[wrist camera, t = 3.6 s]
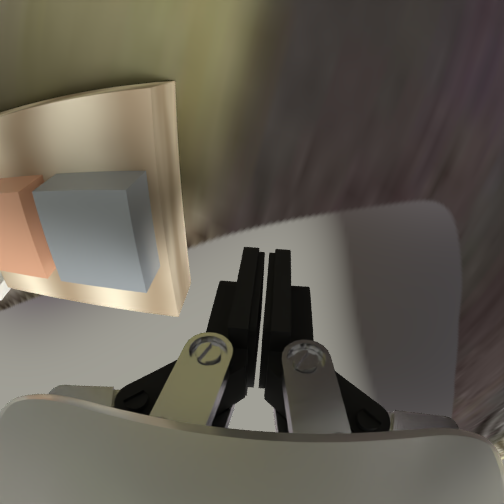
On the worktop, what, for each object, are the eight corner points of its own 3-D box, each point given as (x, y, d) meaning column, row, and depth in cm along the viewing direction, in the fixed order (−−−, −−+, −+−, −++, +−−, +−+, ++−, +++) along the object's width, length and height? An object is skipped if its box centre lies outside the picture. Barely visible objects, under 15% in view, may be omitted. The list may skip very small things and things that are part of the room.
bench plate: (175, 80, 13) (150, 87, 11) (191, 282, 20) (178, 316, 18) (-13, 116, 14) (-44, 131, 12) (28, 263, 21) (7, 287, 18)
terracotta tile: (42, 174, 13) (17, 192, 11) (65, 256, 16) (47, 278, 14) (-13, 179, 13) (-35, 195, 12) (11, 250, 16) (-7, 269, 15)
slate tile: (146, 170, 13) (125, 189, 11) (160, 266, 16) (146, 293, 14) (56, 173, 13) (31, 191, 11) (78, 258, 16) (61, 280, 14)
